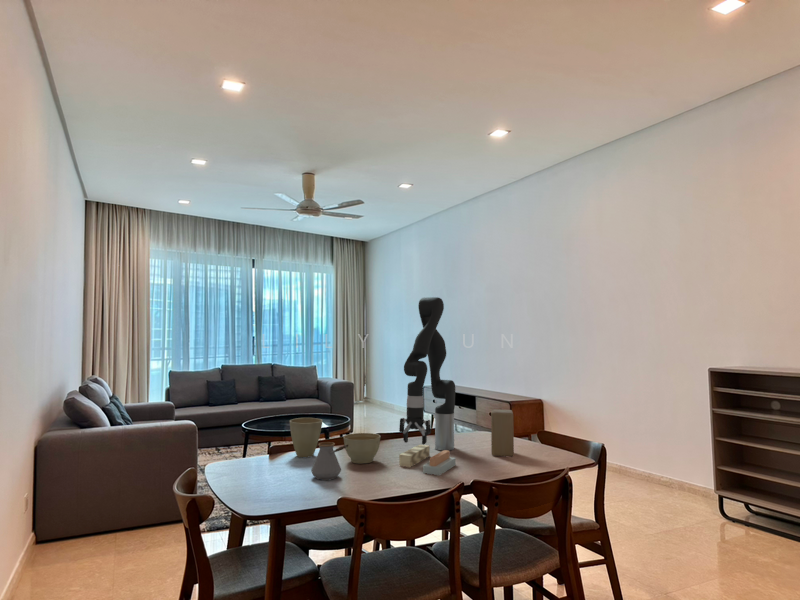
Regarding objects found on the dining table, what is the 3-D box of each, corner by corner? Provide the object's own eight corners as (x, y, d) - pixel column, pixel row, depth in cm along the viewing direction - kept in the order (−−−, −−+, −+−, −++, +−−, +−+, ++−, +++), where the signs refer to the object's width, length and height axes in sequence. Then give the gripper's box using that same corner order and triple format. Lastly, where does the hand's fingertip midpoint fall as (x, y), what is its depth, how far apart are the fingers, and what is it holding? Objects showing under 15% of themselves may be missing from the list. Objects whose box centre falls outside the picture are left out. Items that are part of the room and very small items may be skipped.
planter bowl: (371, 455, 231) (371, 431, 232) (386, 463, 217) (386, 437, 218) (338, 459, 224) (338, 434, 225) (351, 467, 210) (351, 441, 211)
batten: (419, 455, 233) (419, 444, 234) (429, 456, 231) (429, 445, 232) (399, 466, 214) (399, 454, 214) (410, 467, 211) (410, 455, 212)
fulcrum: (440, 463, 218) (440, 449, 219) (455, 465, 215) (455, 450, 216) (423, 473, 202) (423, 457, 203) (439, 475, 199) (439, 459, 200)
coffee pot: (305, 476, 196) (306, 437, 197) (331, 471, 204) (331, 434, 205) (334, 490, 180) (334, 447, 181) (361, 484, 187) (361, 443, 188)
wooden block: (512, 452, 240) (512, 409, 241) (513, 457, 230) (513, 412, 231) (491, 451, 241) (491, 409, 243) (491, 456, 231) (491, 412, 233)
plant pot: (291, 460, 221) (291, 423, 222) (286, 453, 235) (287, 418, 236) (324, 458, 226) (325, 422, 227) (318, 451, 240) (319, 417, 241)
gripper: (433, 406, 224) (433, 443, 223) (404, 403, 231) (404, 440, 229) (426, 408, 218) (426, 446, 216) (397, 405, 224) (396, 443, 223)
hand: (414, 443), depth 223 cm, fingers open, 8 cm apart
